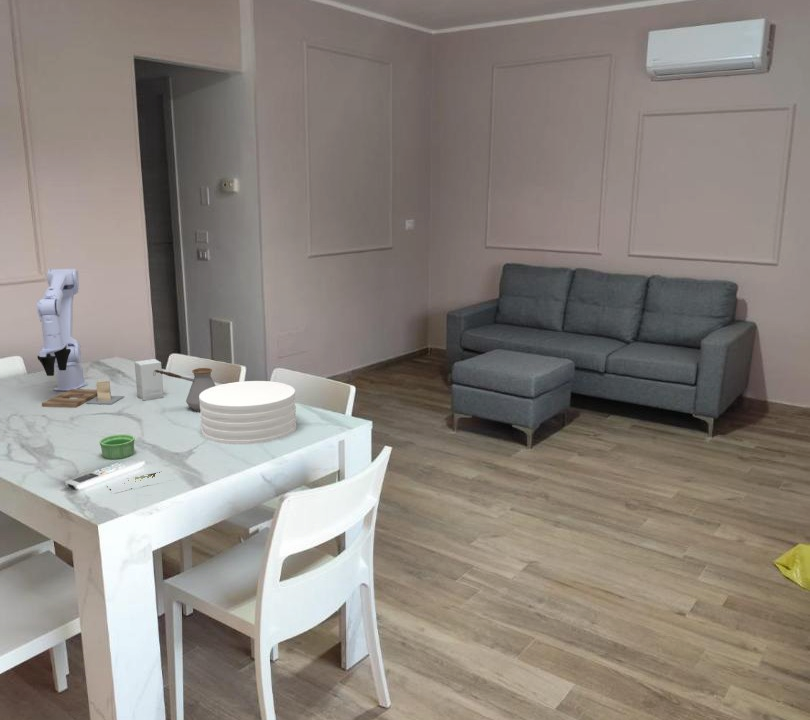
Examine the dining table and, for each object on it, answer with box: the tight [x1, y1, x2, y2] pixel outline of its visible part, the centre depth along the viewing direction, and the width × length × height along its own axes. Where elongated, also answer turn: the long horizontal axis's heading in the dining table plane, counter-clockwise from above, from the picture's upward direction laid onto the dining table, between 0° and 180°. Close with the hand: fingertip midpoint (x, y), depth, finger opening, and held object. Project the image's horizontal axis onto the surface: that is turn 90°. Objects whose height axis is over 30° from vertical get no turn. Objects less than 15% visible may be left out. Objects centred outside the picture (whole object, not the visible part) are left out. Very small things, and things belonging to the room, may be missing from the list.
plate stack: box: [199, 380, 297, 445], centre depth 222 cm, size 28×28×12 cm
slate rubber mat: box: [85, 395, 125, 405], centre depth 254 cm, size 9×9×1 cm
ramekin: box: [99, 434, 136, 460], centre depth 201 cm, size 9×9×4 cm
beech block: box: [96, 380, 112, 402], centre depth 253 cm, size 4×4×6 cm
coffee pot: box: [153, 367, 217, 412], centre depth 240 cm, size 21×12×15 cm, turn 122°
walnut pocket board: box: [41, 388, 98, 408], centre depth 255 cm, size 18×12×1 cm, turn 173°
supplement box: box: [134, 358, 165, 401], centre depth 256 cm, size 7×7×13 cm
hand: (56, 372), depth 253 cm, fingers open, 7 cm apart
